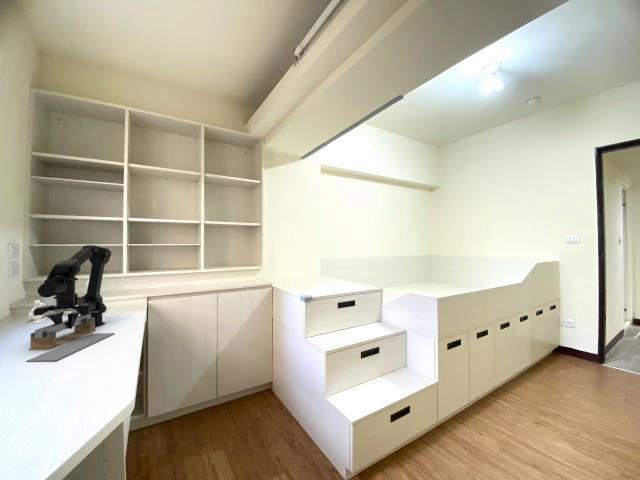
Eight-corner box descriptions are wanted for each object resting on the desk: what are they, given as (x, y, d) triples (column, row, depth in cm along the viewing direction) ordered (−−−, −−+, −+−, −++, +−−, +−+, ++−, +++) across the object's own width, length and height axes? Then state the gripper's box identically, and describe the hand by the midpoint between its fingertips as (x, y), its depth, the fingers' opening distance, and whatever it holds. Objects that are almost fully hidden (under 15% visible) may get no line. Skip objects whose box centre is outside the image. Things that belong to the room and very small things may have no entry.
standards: (80, 331, 117) (80, 317, 118) (95, 330, 118) (95, 317, 118) (28, 351, 96) (28, 334, 96) (48, 350, 96) (48, 333, 96)
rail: (84, 320, 118) (85, 314, 118) (91, 320, 118) (91, 313, 118) (34, 337, 96) (34, 330, 96) (42, 337, 96) (42, 329, 96)
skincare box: (66, 314, 145) (66, 289, 145) (65, 317, 140) (65, 290, 140) (45, 317, 139) (45, 291, 140) (43, 320, 135) (43, 292, 135)
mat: (114, 334, 113) (114, 333, 113) (56, 361, 87) (56, 360, 87) (91, 334, 113) (91, 333, 113) (26, 362, 87) (26, 360, 87)
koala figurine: (45, 323, 130) (45, 300, 130) (25, 326, 125) (25, 302, 126) (48, 319, 136) (48, 297, 136) (30, 322, 132) (30, 299, 132)
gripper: (102, 288, 117) (102, 321, 117) (53, 290, 113) (53, 325, 112) (87, 292, 106) (87, 329, 106) (32, 295, 102) (32, 333, 102)
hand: (65, 329), depth 107 cm, fingers closed on rail, 3 cm apart
